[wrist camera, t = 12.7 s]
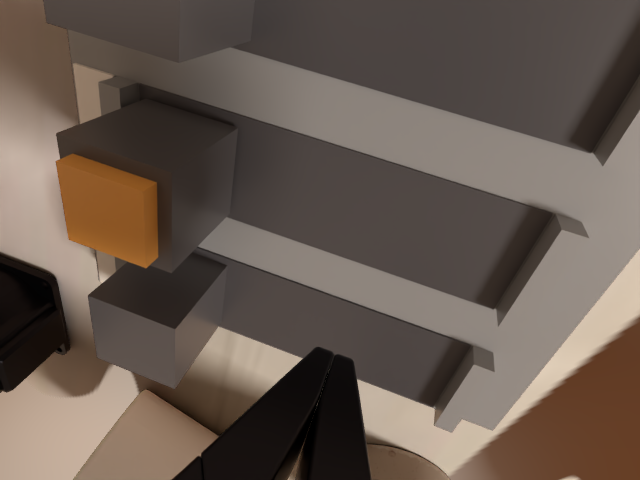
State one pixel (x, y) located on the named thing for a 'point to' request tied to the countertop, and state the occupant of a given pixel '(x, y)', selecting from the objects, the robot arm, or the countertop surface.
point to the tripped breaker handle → (146, 182)
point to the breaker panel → (381, 182)
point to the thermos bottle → (400, 465)
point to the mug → (147, 443)
